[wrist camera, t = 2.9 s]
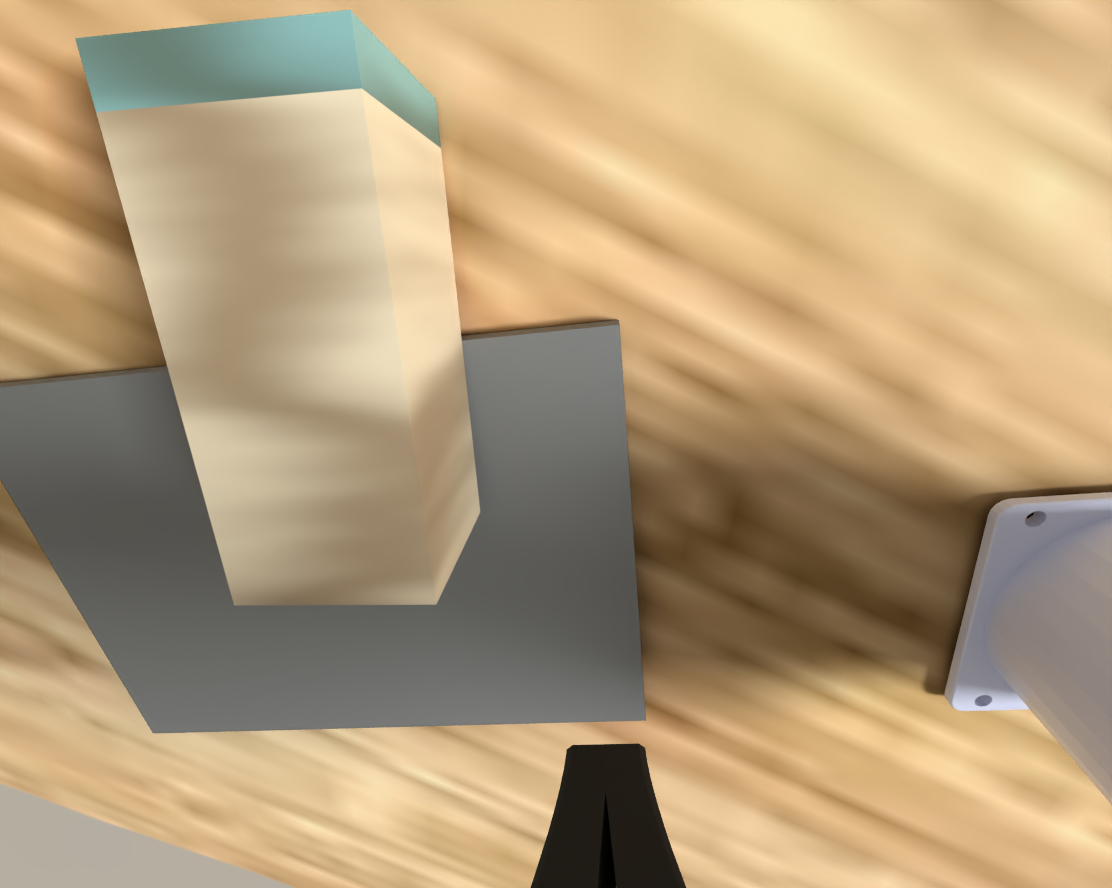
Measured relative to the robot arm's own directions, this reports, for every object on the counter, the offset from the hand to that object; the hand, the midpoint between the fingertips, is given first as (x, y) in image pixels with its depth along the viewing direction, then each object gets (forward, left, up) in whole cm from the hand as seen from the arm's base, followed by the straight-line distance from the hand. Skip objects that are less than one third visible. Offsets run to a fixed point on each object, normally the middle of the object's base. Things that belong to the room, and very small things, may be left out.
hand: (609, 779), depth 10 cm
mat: (+8, 0, -7) cm, 11 cm away
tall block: (+5, -3, -4) cm, 7 cm away
